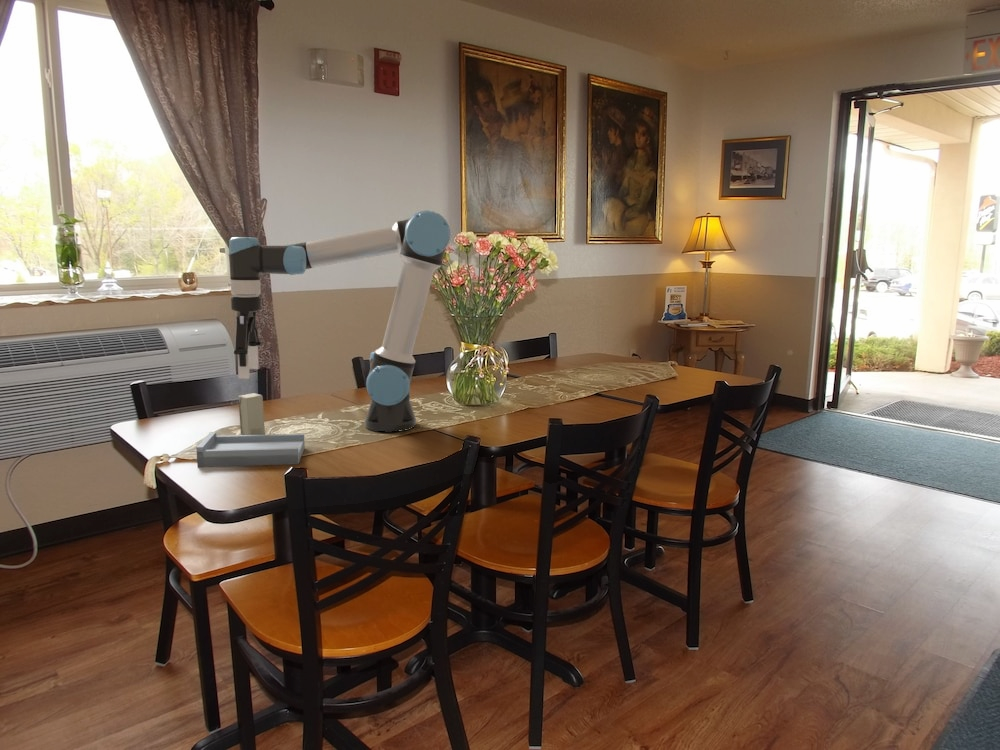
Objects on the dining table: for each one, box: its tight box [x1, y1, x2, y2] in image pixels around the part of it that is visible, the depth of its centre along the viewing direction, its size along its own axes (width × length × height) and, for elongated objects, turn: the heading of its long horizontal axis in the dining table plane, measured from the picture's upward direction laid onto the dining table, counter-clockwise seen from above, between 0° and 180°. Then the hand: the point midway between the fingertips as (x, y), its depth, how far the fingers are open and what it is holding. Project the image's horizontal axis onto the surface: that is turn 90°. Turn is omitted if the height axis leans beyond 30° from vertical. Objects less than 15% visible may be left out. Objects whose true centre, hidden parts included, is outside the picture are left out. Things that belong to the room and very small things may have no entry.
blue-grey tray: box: [195, 431, 306, 468], centre depth 184 cm, size 24×14×5 cm, turn 99°
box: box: [238, 392, 266, 435], centre depth 198 cm, size 5×4×13 cm
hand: (248, 373), depth 195 cm, fingers open, 13 cm apart
